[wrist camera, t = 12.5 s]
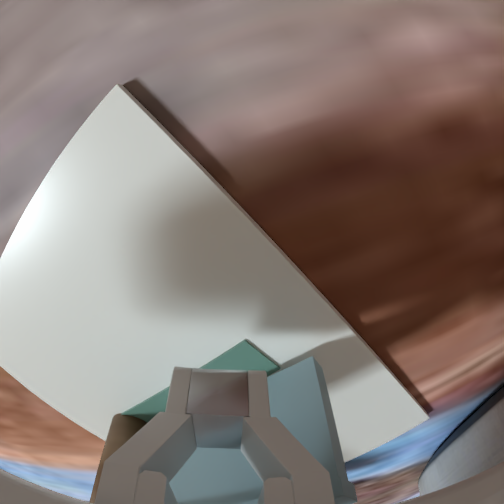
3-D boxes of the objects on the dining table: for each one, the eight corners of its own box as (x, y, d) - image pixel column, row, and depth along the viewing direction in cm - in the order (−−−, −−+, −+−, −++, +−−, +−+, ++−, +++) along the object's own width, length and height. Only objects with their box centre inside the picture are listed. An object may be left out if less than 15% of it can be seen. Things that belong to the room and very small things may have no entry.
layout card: (427, 413, 15) (430, 419, 14) (237, 493, 19) (237, 499, 19) (121, 84, 7) (115, 84, 7) (-27, 332, 12) (-31, 338, 11)
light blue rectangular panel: (164, 430, 13) (149, 532, 8) (147, 419, 13) (127, 524, 8) (326, 368, 11) (357, 501, 6) (313, 352, 11) (343, 495, 6)
